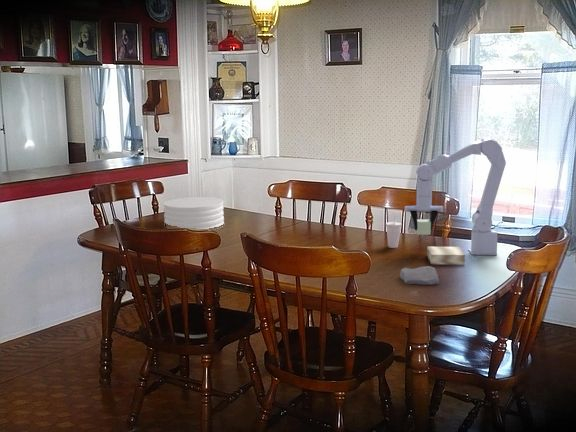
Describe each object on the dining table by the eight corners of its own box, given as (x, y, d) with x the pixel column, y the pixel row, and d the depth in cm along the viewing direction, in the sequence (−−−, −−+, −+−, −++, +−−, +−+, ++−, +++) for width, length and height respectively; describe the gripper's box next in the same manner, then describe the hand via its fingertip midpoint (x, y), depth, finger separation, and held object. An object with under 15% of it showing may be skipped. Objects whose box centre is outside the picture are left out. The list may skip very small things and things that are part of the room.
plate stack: (171, 219, 324) (170, 197, 322) (227, 219, 323) (226, 196, 320) (158, 232, 297) (157, 207, 294) (219, 232, 295) (218, 207, 293)
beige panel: (459, 256, 248) (459, 246, 248) (464, 265, 237) (464, 254, 236) (427, 256, 250) (427, 246, 249) (430, 265, 238) (431, 254, 237)
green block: (428, 231, 256) (429, 219, 255) (430, 234, 251) (430, 222, 250) (416, 231, 257) (416, 219, 256) (417, 234, 252) (417, 222, 251)
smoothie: (389, 249, 259) (389, 215, 257) (382, 245, 265) (383, 212, 263) (403, 248, 261) (404, 213, 258) (397, 244, 267) (397, 210, 264)
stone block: (440, 289, 215) (433, 275, 224) (441, 277, 213) (433, 262, 222) (405, 292, 215) (399, 277, 224) (405, 279, 213) (399, 265, 222)
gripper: (441, 193, 254) (440, 227, 257) (404, 193, 255) (403, 227, 258) (444, 196, 247) (443, 231, 250) (405, 196, 249) (405, 231, 251)
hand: (423, 229), depth 254 cm, fingers closed on green block, 5 cm apart
